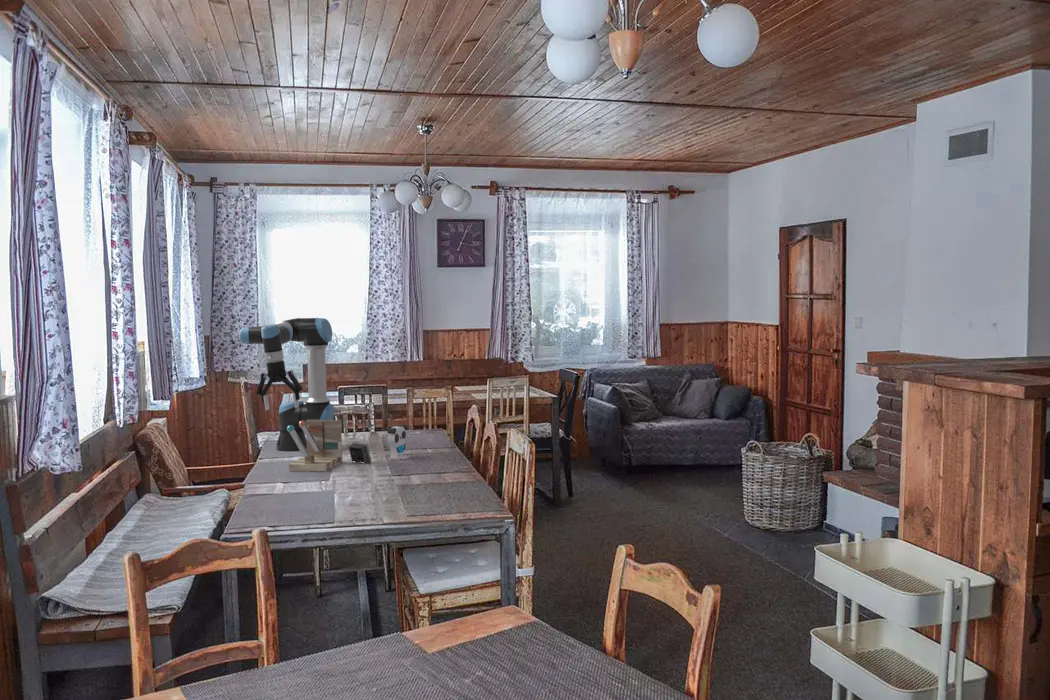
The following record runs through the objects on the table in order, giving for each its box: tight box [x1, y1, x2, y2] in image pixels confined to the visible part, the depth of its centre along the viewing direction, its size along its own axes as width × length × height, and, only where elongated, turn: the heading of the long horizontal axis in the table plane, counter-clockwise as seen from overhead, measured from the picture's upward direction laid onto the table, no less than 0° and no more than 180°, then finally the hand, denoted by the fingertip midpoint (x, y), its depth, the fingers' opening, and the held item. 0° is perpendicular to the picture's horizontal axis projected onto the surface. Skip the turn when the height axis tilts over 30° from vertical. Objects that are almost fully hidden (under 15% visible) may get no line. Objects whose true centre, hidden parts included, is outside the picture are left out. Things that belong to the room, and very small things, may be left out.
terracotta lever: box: [299, 421, 321, 452], centre depth 370 cm, size 3×3×17 cm
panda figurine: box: [386, 424, 407, 458], centre depth 381 cm, size 12×11×15 cm
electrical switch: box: [348, 441, 372, 464], centre depth 371 cm, size 9×5×9 cm, turn 57°
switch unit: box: [288, 419, 343, 472], centre depth 363 cm, size 23×16×19 cm
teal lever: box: [287, 425, 310, 458], centre depth 356 cm, size 3×3×17 cm
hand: (282, 408), depth 360 cm, fingers open, 13 cm apart
